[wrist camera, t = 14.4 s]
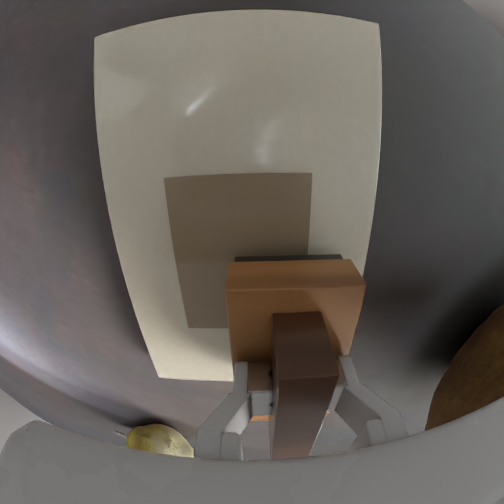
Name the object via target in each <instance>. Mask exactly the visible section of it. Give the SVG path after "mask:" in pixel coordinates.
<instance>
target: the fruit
mask: <svg viewBox="0 0 504 504" xmlns="http://www.w3.org/2000/svg"><path fill="white" fill-rule="evenodd" d="M114 432H115V433H116V434H118V435H120V436H122V437H124V438H127V446H128V448H133V449H138V450H143V451H149V452H154V453H161V454H168V455H175V456H184V457H194V449H193V448H192V447H191V446H190V445H189V444H188V442H187V441H186V439H185V438H184V437H183V436H182V435H181V434H180V433H179V432H177V431H176V430H175V429H173V428H171V427H169V426H166V425H162V424H151V425H146V426H138V427H135V428H133V429H132V430H131V431H130V432H129V434H128V435H125V434H123V433H121V432H118V431H114Z"/></svg>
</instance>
